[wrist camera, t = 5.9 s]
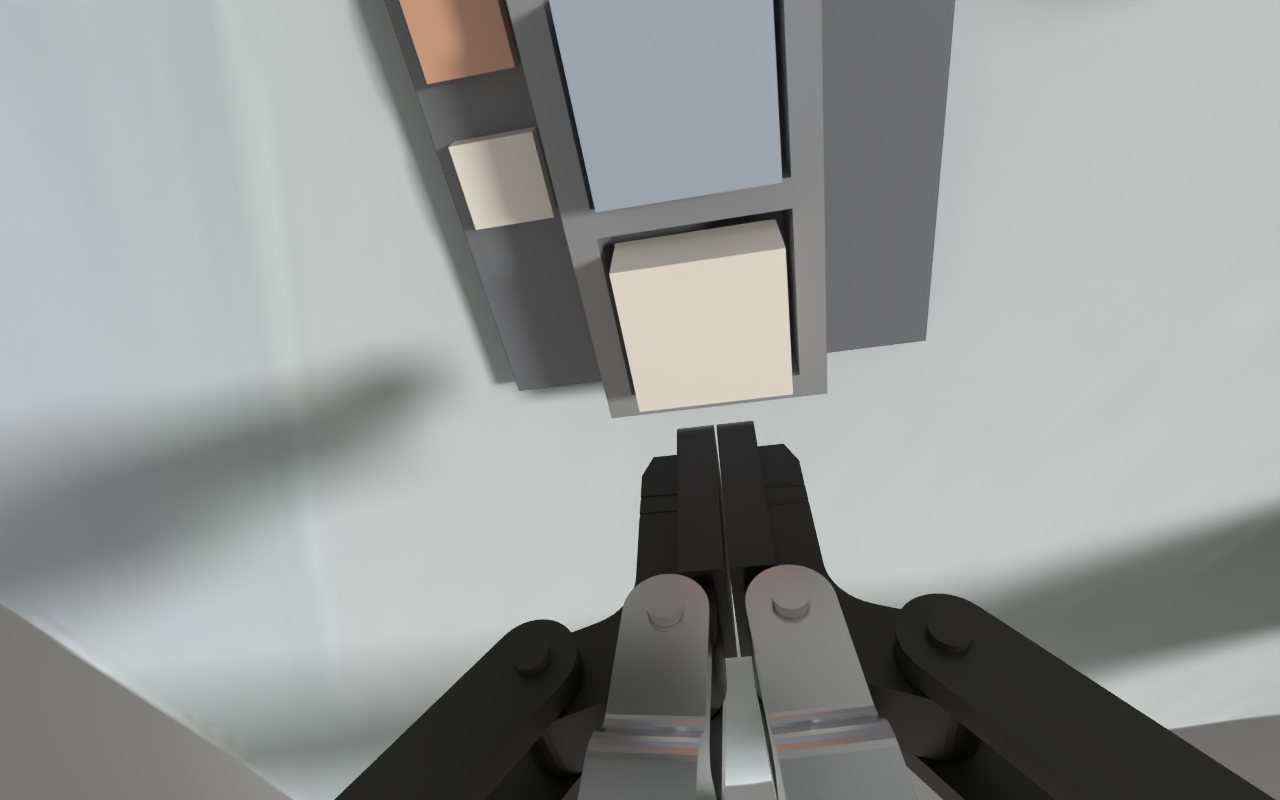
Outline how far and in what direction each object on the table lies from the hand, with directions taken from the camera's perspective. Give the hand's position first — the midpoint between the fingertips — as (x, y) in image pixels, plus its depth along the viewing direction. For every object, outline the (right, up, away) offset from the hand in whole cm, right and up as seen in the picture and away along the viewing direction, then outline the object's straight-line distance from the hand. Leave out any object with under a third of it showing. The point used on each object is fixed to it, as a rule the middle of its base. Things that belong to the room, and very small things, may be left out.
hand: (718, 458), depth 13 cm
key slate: (-1, +9, +3) cm, 9 cm away
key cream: (0, +4, +6) cm, 7 cm away
